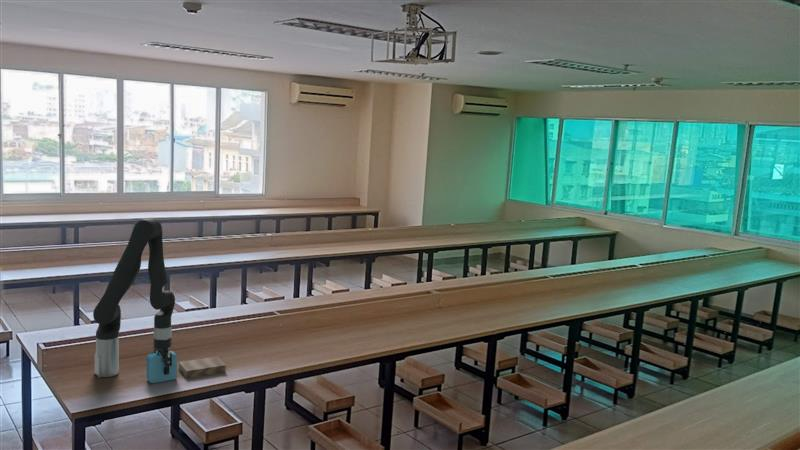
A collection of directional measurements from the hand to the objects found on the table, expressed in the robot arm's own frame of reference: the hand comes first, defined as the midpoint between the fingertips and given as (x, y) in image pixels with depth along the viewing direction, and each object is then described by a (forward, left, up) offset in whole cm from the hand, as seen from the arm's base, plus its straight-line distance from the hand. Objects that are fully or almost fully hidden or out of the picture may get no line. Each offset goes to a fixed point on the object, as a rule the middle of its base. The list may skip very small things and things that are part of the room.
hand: (162, 371), depth 287 cm
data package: (0, 0, -4) cm, 4 cm away
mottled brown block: (+19, 0, -4) cm, 19 cm away
